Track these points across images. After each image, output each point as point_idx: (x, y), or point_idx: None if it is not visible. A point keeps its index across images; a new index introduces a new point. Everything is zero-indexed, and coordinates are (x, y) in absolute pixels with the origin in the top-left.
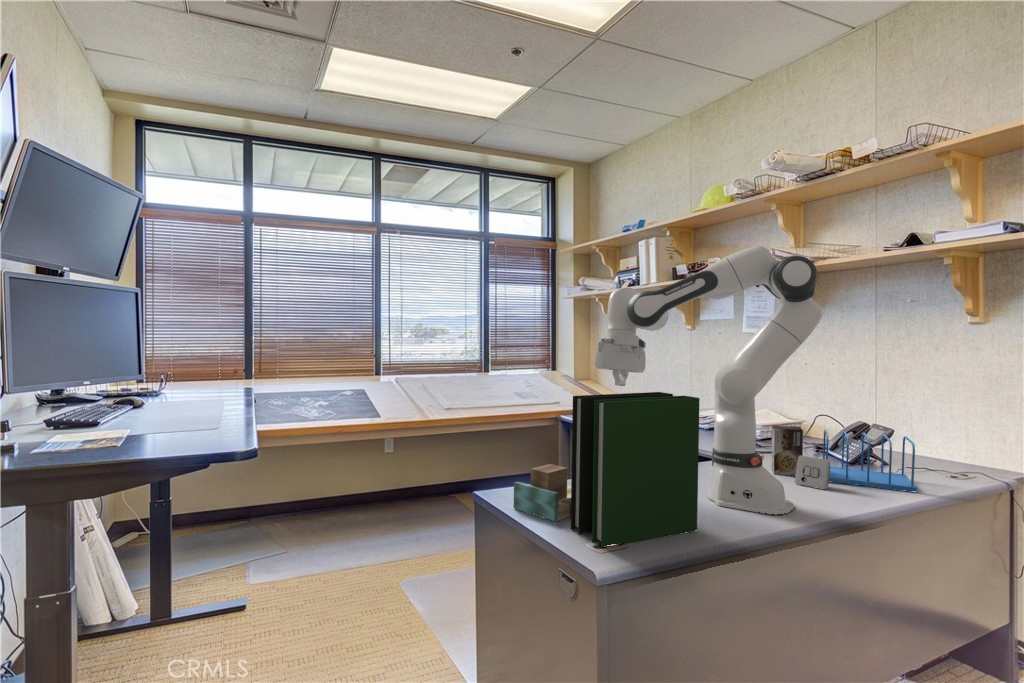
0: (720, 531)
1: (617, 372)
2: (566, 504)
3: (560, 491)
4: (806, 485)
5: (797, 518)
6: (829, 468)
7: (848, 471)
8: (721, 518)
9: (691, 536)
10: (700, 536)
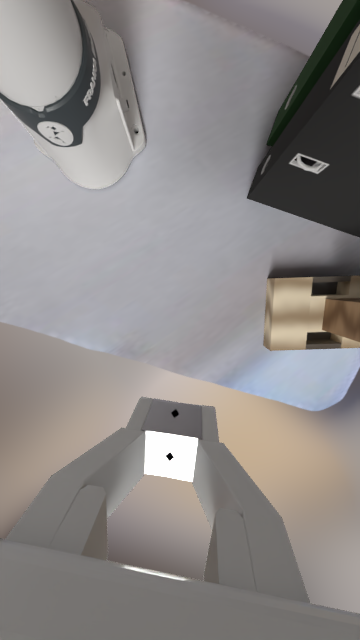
0: (256, 82)
1: (290, 550)
2: (353, 278)
3: (351, 299)
4: None
5: (106, 7)
6: None
7: None
8: (200, 111)
9: None
10: None
